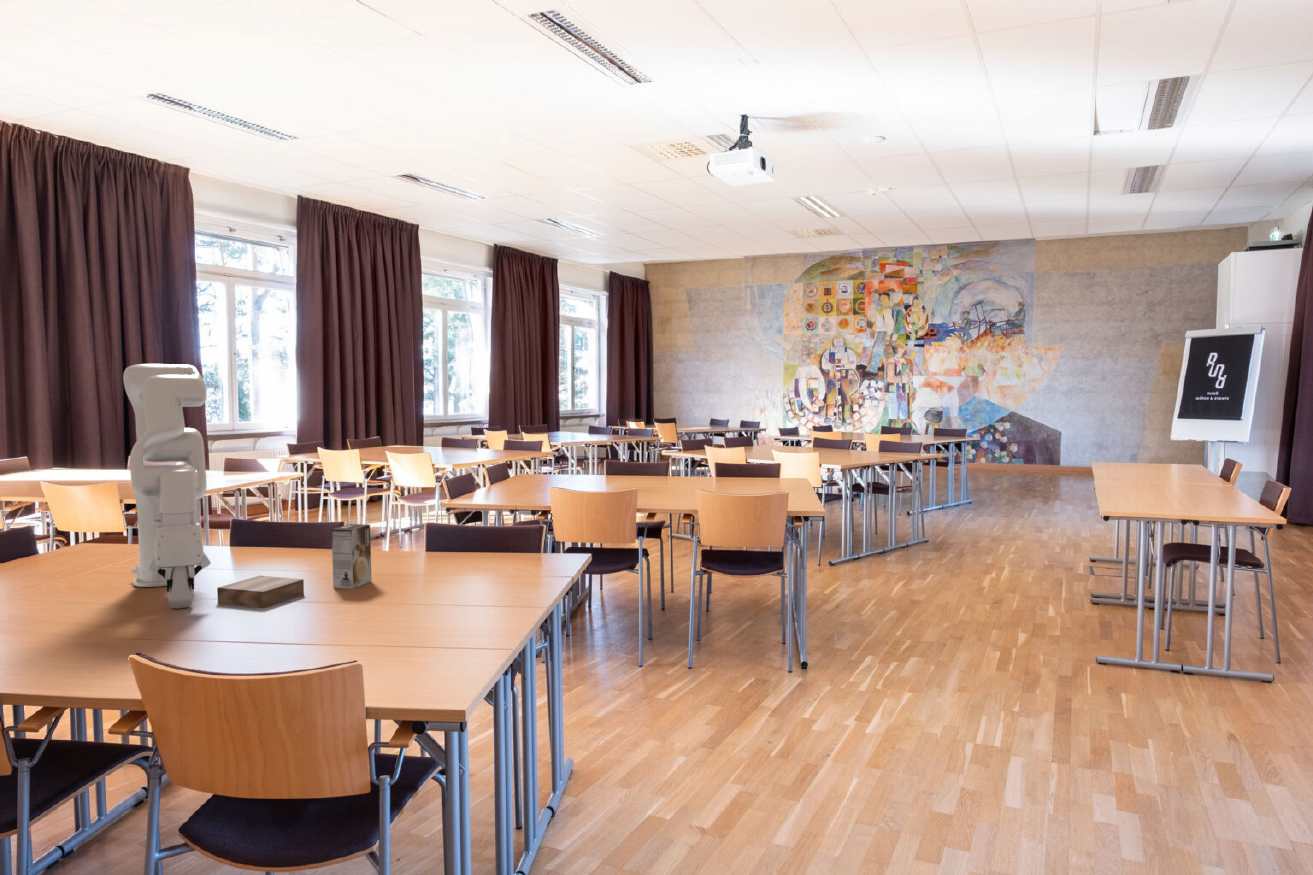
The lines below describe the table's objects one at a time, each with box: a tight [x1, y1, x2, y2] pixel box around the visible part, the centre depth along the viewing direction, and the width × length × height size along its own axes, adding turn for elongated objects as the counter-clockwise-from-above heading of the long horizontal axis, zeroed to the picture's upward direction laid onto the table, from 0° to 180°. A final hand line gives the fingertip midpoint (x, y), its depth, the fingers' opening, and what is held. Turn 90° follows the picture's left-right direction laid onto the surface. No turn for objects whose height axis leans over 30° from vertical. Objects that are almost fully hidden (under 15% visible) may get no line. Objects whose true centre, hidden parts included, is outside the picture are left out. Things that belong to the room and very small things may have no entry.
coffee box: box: [331, 523, 373, 590], centre depth 226 cm, size 9×6×16 cm
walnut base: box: [216, 575, 305, 609], centre depth 211 cm, size 14×14×4 cm
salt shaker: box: [166, 566, 196, 609], centre depth 202 cm, size 6×6×13 cm
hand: (180, 593), depth 202 cm, fingers closed on salt shaker, 3 cm apart
